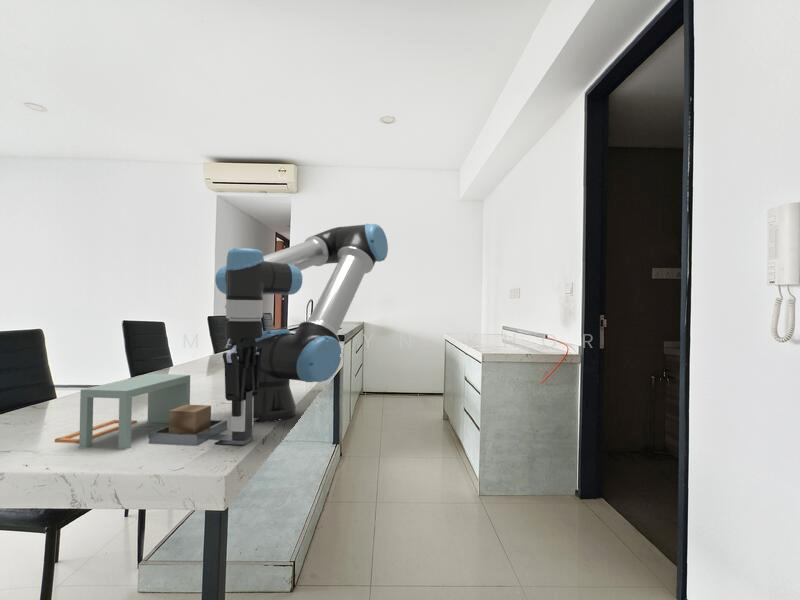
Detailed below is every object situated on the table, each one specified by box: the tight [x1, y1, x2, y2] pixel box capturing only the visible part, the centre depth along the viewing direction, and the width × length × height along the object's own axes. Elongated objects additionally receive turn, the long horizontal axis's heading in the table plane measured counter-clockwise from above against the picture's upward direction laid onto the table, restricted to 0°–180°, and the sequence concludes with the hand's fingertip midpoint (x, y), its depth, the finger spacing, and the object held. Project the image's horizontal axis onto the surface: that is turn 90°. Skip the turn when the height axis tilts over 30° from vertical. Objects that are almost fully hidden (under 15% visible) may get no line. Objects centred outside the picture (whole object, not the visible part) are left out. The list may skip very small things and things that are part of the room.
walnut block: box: [168, 404, 212, 434], centre depth 94 cm, size 6×6×6 cm
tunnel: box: [78, 373, 191, 451], centre depth 96 cm, size 10×21×12 cm, turn 173°
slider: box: [148, 390, 254, 446], centre depth 94 cm, size 19×12×11 cm, turn 83°
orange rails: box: [54, 419, 138, 444], centre depth 97 cm, size 6×16×2 cm, turn 173°
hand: (242, 428), depth 93 cm, fingers closed on slider, 3 cm apart
